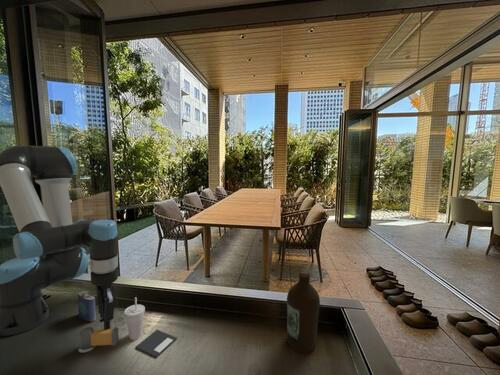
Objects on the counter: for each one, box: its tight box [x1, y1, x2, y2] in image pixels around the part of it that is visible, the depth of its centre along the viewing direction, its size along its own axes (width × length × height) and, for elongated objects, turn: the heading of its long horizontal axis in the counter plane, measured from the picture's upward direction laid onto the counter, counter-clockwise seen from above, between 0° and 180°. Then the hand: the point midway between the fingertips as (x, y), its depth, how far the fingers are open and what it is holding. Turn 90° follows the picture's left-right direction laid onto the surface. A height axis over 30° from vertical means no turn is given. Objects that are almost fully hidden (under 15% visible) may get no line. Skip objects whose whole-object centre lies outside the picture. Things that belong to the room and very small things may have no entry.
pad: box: [135, 329, 178, 359], centre depth 81 cm, size 9×9×1 cm
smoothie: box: [123, 296, 146, 341], centre depth 84 cm, size 6×6×14 cm
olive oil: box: [286, 268, 321, 354], centre depth 82 cm, size 11×11×25 cm
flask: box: [77, 290, 97, 323], centre depth 93 cm, size 9×3×11 cm, turn 61°
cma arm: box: [79, 326, 120, 350], centre depth 79 cm, size 11×4×5 cm, turn 96°
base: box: [77, 345, 97, 354], centre depth 79 cm, size 5×5×1 cm
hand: (106, 336), depth 82 cm, fingers closed
